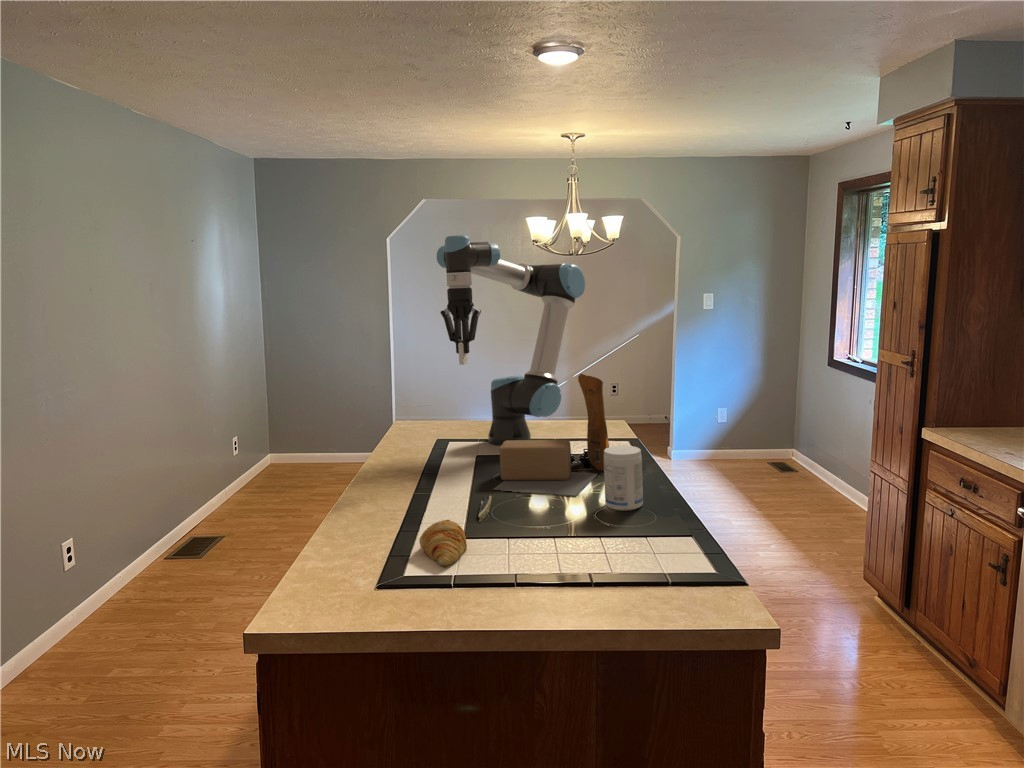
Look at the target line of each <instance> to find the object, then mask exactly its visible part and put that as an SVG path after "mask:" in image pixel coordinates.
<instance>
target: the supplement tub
mask: <svg viewBox="0 0 1024 768" xmlns="http://www.w3.org/2000/svg"><path fill="white" fill-rule="evenodd" d="M641 451H642V450H641V448H639V447H637V446H632V445H614V446H609V448H606V449H605V450H604V471H603V473H604V474H603V475H604V476H603V478H604V479H603V480H604V498H605V499H604V500H605V505H606V506H607V508H610V509H611V510H614V511H622V512H623V511H624V512H625V511H632V510H633V511H634V510H636V509H639V508H640V507H642V506H643V503H644V496H643V494H644V491H643V486H644V485H643V462H642V461H643V460H642V459H643V458H642V452H641Z"/></svg>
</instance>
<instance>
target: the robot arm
mask: <svg viewBox="0 0 1024 768" xmlns="http://www.w3.org/2000/svg"><path fill="white" fill-rule="evenodd" d="M436 262H437V263H438V265H439V266H440V267H441V268H443V269H445V271H446V273H445V274H446V286H447V287H448V288H447V291H446V292H447V304H446V308H445V309H444V310H440V315H441V316H442V318H443V321H444V323H445V327H446V332H447V335H448V338H449V341H450V342H453V343H455V349H456V350H455V353H456V354H458V362H459V366H460V365H461V366H463V365H467V364H468V354H470V343H471V342H473V341H475V338H476V333H477V328H478V322H479V316H480V315H481V313H482V310H481V309H478V308H476V306H475V304H474V303H473V288H472V287H470V286H472V285H473V284H472V283H473V282H472V275H475V276H476V275H477V276H479V277H482V278H485V279H490V280H492V281H495V282H499V283H502V284H506V285H509V286H511V288H512V289H513V290H516V291H518V292H521V293H525V294H527V295H531V296H533V297H538V298H540V299H541V301H542V302H543V304H544V306H543V308H542V309H543V311H542V315H541V319H540V325H539V328H538V332H537V337H536V342H535V346H534V352H533V356H532V360H531V365H530V369H529V370H528V371H527V372H525V373H524V376H522V375H511V376H505V377H503V376H502V377H498V378H494V379H493V380H491V383H490V385H491V386H490V388H491V389H490V399H491V400H490V401H491V402H490V403H491V412H492V413H491V416H492V418H491V419H492V420H491V425H490V428H489V433H488V443H489V444H492V445H496V446H497V445H498V446H502V444H503V442H504V441H506V440H532V437H531V436H532V435H531V432H530V429H529V426H528V423H527V421H526V416H532V417H535V418H548V417H550V416H552V415H553V414H555V413H556V412H557V410H558V409H559V407H560V405H561V403H562V393H561V388H560V387H559V386H558V379H557V378H556V376H555V374H556V371H557V365H558V362H559V361H558V360H559V356H560V351H561V346H562V343H563V338H564V334H565V333H564V332H565V329H566V328H565V327H566V323H567V319H568V314H569V309H571V308H573V307H574V306H575V303H576V299H579V298H580V297H582V295H583V294H584V293H585V290H586V279H585V275H584V273H583V270H581V268H580V267H579V266H578V265H576V264H573V263H566V262H564V263H556V264H554V263H553V264H537V265H535V264H534V265H533V264H527V263H518V264H516V263H514V262H511V261H508V260H504V259H502V258H501V249H500V247H499V245H498V244H497V243H495V242H492V241H491V242H490V241H478V242H477V241H475V242H474V241H472V242H471V241H470V237H469V235H464V234H461V235H459V234H456V235H448V236H446V237H445V239H444V244H443V245H442V246H439V248H438V249H437V252H436ZM451 315H452V318H451ZM470 315H472V316H471V318H470ZM469 321H470V323H469Z"/></svg>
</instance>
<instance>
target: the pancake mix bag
mask: <svg viewBox="0 0 1024 768" xmlns="http://www.w3.org/2000/svg"><path fill="white" fill-rule="evenodd" d="M577 381H578V383H579V387H580V389H581V392H582V394H583V398H584V401H585V407H586V412H587V430H586V431H587V434H586V438H587V439H586V441H587V443H586V445H587V449H586V450H587V458H588V457H589V460H590V462H589V464H590V465H592V466H593V468H594V469H595V470H598V471H603V472H604V450H605V449H606V448H609V447H610V443H609V435H608V434H609V433H608V427H607V426H608V425H607V421H606V416H605V415H606V413H605V404H604V390H603V386H604V385H603V384H604V382H603V380H601V379H600V378H599V377H595V376H592V375H586V374H583V373H580V374H579V375H578V377H577Z"/></svg>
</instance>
